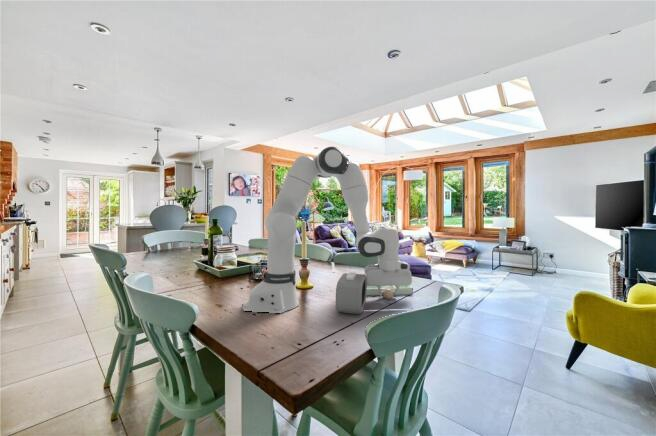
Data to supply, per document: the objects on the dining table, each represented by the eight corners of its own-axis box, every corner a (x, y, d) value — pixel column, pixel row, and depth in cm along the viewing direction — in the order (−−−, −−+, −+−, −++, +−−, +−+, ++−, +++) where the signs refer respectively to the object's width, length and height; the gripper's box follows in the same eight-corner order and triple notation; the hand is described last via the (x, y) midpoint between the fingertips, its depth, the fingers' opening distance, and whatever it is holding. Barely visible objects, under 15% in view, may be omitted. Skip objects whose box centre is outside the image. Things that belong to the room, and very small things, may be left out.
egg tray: (362, 296, 124) (362, 288, 124) (357, 286, 139) (357, 279, 139) (412, 295, 125) (413, 287, 125) (401, 285, 141) (402, 278, 140)
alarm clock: (361, 319, 100) (361, 283, 99) (335, 316, 102) (335, 281, 102) (366, 299, 120) (367, 269, 119) (345, 298, 122) (345, 268, 122)
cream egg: (382, 293, 126) (382, 284, 126) (379, 290, 131) (379, 281, 130) (391, 293, 126) (391, 283, 126) (389, 290, 131) (389, 281, 131)
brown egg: (384, 300, 118) (384, 290, 118) (381, 297, 123) (381, 287, 123) (394, 300, 119) (394, 290, 118) (391, 297, 123) (391, 287, 123)
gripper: (366, 266, 116) (365, 298, 117) (413, 265, 117) (413, 297, 118) (363, 262, 122) (363, 293, 123) (408, 262, 124) (408, 292, 124)
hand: (388, 295), depth 121 cm, fingers closed on brown egg, 4 cm apart
